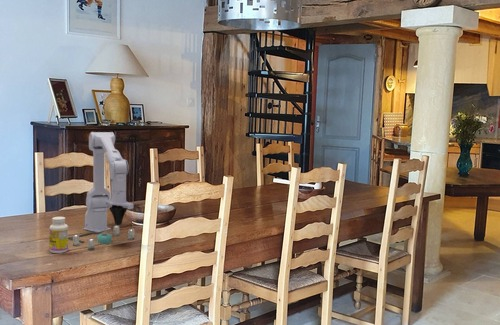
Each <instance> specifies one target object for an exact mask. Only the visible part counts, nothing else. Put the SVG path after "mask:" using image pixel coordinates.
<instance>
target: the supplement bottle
mask: <svg viewBox="0 0 500 325" xmlns="http://www.w3.org/2000/svg"><path fill="white" fill-rule="evenodd" d="M51 222H52V224H50V226H49V231H48V232H49V234H48V235H49V238H48V239H49V243H48V244H49V246H48V247H49V252H50V253H53V254H62V253H66V252H67V251H68V250H69V239H68V237H69V225H68V224H67V223H66V217H64V216H53V217H52V218H51Z"/></svg>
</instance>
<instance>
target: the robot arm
mask: <svg viewBox="0 0 500 325" xmlns="http://www.w3.org/2000/svg"><path fill="white" fill-rule="evenodd" d="M115 143H116V136H115V133H114V132H113V131H109V132H106V131H103V132H101V131H97V132H96V131H91V132H90V133H89V136H88V150H89V151H92V154H93V155H92V157H93V158H92V159H93V160H92V161H93V162H92V163H93V169H92V170H93V174H92V177H93V180H92V181H93V186H92V188H91V189H89V191H87V192H86V198H85V206H86V209H87V210H86V212H85V213H84V227H83V230H85V231H90V232H98V233H101V232H105V231H109V230H112V228H111V227H108V210H110V213H111V214H112V217H113V220H114V224H115V225H118V226H120V225H122V223H123V219H124V216H125V214H126V212H127V211H128V210H132V209H134V203H132V202H129V201H128V200H127V175H128V174H129V168H130V167H129V163H128V160H127V159H124V158H123V157H122V155H121V153H120V151H119V150H118V149H116V147H115ZM105 159H106V161H107V163H108V170H109V179H110V180H111V181H110V183H111V184H110V185H111V186H110V191H109V190H108V189H106V188H105V186H106V185H105V179H106V178H105V170H106V169H105V168H106V166H105ZM110 192H111V193H110ZM115 225H114V226H115Z"/></svg>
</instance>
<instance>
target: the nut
mask: <svg viewBox="0 0 500 325" xmlns="http://www.w3.org/2000/svg"><path fill="white" fill-rule="evenodd" d="M96 235H97V234H96ZM112 236H113V235H112V234H111V233H105V232H104V233H102V234H98V235H97V238H96V241H97V242H98V244H100V245H102V244H103V245H105V244H106V245H107V244H111V243H112V241H113V240H112V238H113V237H112ZM97 242H96V243H97Z"/></svg>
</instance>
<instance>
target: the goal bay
mask: <svg viewBox="0 0 500 325" xmlns="http://www.w3.org/2000/svg"><path fill="white" fill-rule="evenodd" d="M93 234H94V235H98V234H103V233H101V232H94V231H90V232H86V233H83V234H78V235H79V238H81V237H85V236H89V235H90V236H91V235H93ZM69 240H70V241H73V236H68V241H69ZM84 243H85V241H84V240H81V239H79V244H84Z"/></svg>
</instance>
